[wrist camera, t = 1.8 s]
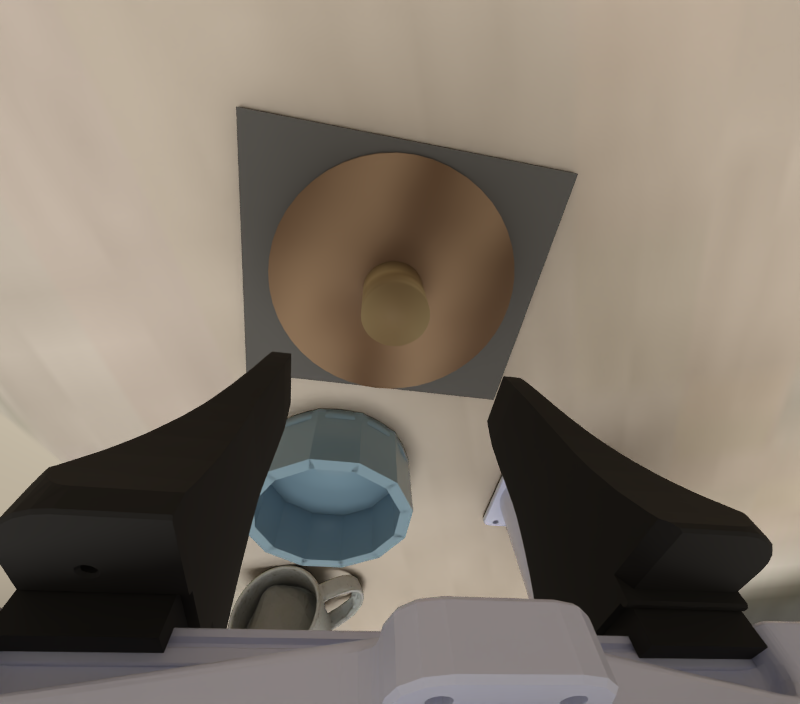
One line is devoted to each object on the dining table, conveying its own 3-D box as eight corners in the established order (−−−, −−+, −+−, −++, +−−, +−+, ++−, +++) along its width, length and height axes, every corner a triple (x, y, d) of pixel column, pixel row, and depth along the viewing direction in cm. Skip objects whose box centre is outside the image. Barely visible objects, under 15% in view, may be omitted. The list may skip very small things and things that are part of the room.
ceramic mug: (266, 613, 39) (246, 711, 33) (241, 569, 35) (212, 672, 28) (369, 600, 39) (369, 696, 33) (356, 554, 35) (353, 654, 28)
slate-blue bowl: (420, 417, 27) (427, 467, 23) (394, 516, 32) (396, 570, 28) (257, 401, 25) (235, 451, 21) (259, 508, 31) (242, 563, 27)
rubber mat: (574, 172, 19) (578, 173, 19) (491, 396, 26) (493, 399, 26) (238, 106, 17) (236, 106, 16) (248, 369, 24) (246, 372, 23)
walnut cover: (545, 179, 19) (582, 192, 15) (473, 391, 25) (489, 433, 22) (272, 126, 17) (245, 127, 13) (271, 368, 23) (253, 410, 20)
